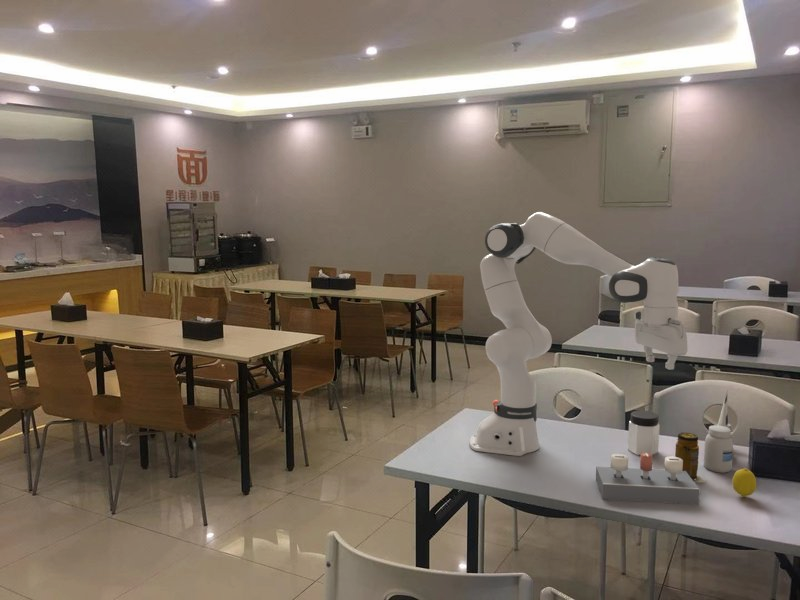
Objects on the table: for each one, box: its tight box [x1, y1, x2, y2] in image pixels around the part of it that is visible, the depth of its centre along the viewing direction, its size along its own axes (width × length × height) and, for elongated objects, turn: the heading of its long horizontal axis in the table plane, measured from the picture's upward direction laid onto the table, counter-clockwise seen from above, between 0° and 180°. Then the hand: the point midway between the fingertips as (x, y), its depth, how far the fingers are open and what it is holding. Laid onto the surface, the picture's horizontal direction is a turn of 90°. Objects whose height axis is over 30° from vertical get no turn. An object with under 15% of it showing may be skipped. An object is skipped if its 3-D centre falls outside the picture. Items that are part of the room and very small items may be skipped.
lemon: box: [732, 467, 757, 498], centre depth 169 cm, size 6×6×8 cm
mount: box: [595, 466, 700, 505], centre depth 173 cm, size 24×12×4 cm, turn 82°
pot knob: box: [639, 453, 654, 480], centre depth 172 cm, size 3×3×8 cm
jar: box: [627, 410, 660, 456], centre depth 201 cm, size 9×8×12 cm
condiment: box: [674, 431, 706, 484], centre depth 182 cm, size 7×8×12 cm
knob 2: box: [663, 455, 683, 481], centre depth 171 cm, size 4×4×7 cm
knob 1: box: [610, 453, 629, 478], centre depth 173 cm, size 4×4×7 cm
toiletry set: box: [703, 389, 736, 473], centre depth 194 cm, size 25×8×21 cm, turn 149°
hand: (659, 365), depth 178 cm, fingers open, 8 cm apart
